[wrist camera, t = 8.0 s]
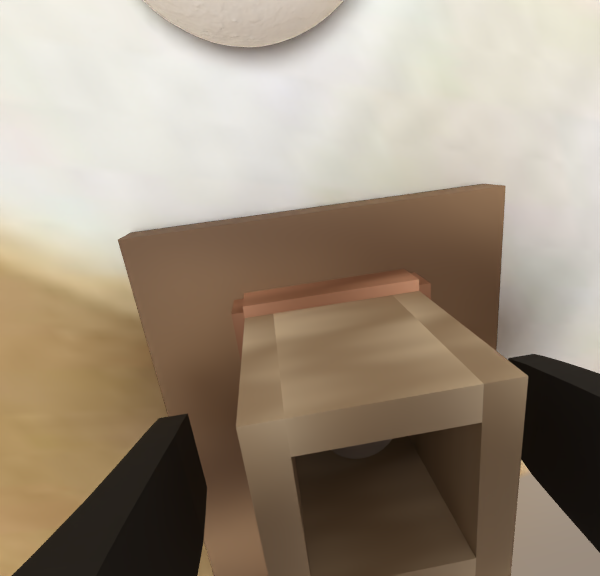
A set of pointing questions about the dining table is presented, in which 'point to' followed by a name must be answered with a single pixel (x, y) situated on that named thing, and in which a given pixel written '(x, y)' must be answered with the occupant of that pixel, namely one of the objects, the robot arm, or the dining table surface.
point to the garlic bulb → (244, 19)
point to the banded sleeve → (376, 431)
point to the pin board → (282, 273)
